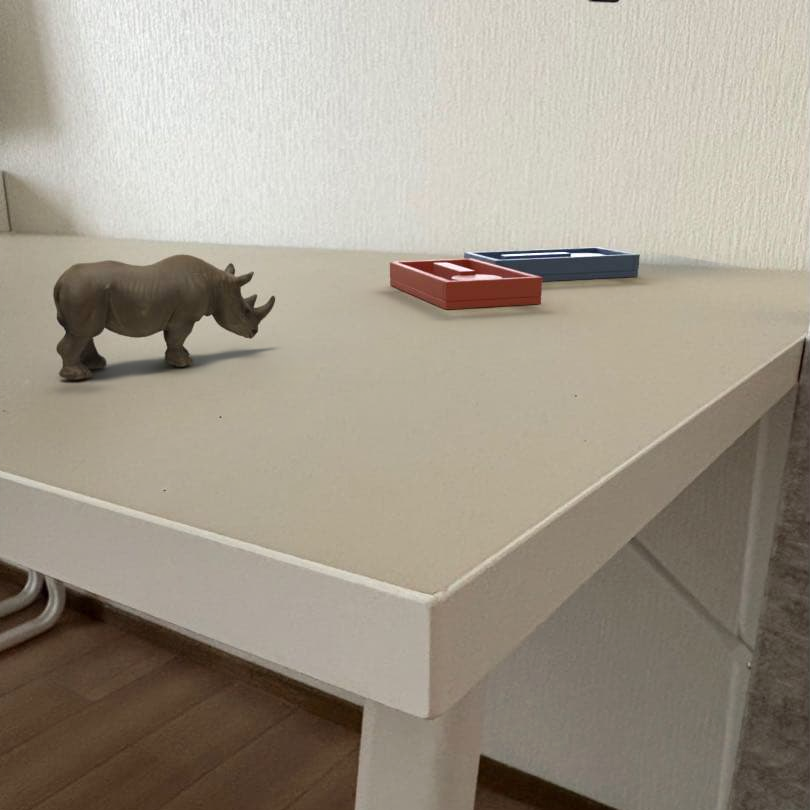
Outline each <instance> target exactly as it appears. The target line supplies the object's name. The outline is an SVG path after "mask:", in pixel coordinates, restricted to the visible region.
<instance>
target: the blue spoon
mask: <svg viewBox="0 0 810 810" xmlns="http://www.w3.org/2000/svg"><path fill="white" fill-rule="evenodd" d="M601 255H603V254H595V253H566V252H556V253H532V254H508V255H501V260H507V259H531V258H554V257H577V256H601Z"/></svg>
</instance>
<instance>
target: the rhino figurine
mask: <svg viewBox="0 0 810 810" xmlns="http://www.w3.org/2000/svg"><path fill="white" fill-rule="evenodd" d="M235 274H236V268H235V265H234V264H233V263H232V262H229V264H227V265H226V267H225V269H220V268H218V267H216V266H215V265H214V264H212V263H209V262H207V261H206V260H204V259H202V258H199V257H197V256H194V255H190V254H181V253H180V254H175V255H171V256H168V257H166V258H164V259H161V260H160V261H157V262H154V263H152V264H147V265H136V264H130V263H125V262H122V261H118V260H109V259H108V260H107V259H106V260H100V261H94V262H79V263H74V264H72V265H71V266H70V267H68V268H67V269H66V270H65V271H63V272H62V274H61V275H60V276H59V277H58V279H57V281H56V282H55V284H54V285H53V291H52V292H53V294H52V295H53V303H54V305H55V309H56V321H57V322H58V324H59V325H60V326H61V327H62V328H63V329H64V331H65V334H64V335H63V337H62V338H61V339H60V340H59V341H58V343H57V345H56V353H57V354H58V355H59V356H60V358H61V360H62V367H61V369H60V370H59V373H58V375H59V377H61V378H62V379H66V380H76V381H77V380H81V379H86V378H92V376H93V373H92V371H91V370H95V369H99V368H105V367H107V363H108V362H107V360H106V358H105V357H104V356H103V355H101V354H100V353H99V351H98V350H97V347H96V344H95V340H94V338H95V337H98V336H99V335H101V334H102V333H103V332H104V330H105V329H106V330H107V331H109V332H112V333H114V334H117V335H120V336H123V337H128V338H135V339H136V338H137V339H139V338H147V337H151V336H153V335H155V334H158V333H160V332H163V333H162V334H163V339H164V340H163V341H164V342H165V343H166V344H165V345H166V350H165V351H164V360H165V362H167V363H168V364H170V365H172V366H176V367H186V366H191V365H192V364H193V363H194V360H193V358H192V357H191V354H190V352H189V351H188V349H187V348H186V347H185V346H184V344H185V342H186V340H187V338H188V337H189V336H190V335H191V333H192V332H193V329H194V326H195V324H196V323H197V322H200V321H201V319H202V318H203V317H204V316H205V317H210V316H212V317H213V319H214V321H215V322H216V324H217V325H218V326H219V327H221V328H222V329H223V330H226V331H228V332H229V333H232V334H234V335H236V336H240V337H243V338H245V339H250V340H251V339H253V338H254V337H255V336H256V335H257V333H258V332H259V325H260V323H261V322H262V321H263V320H264V319H265V318H266V317H267V316H268V315H269V314H270V312H272V310H273V308H274V306H275V303H276V295H271V296H270V298H269V300H268V301H267V302H266V303H265V304H263V305H260V306H258V307H255V304H256V301H257V299H258V294H257V293H254V294H252V295H250V296H248V297H243V295H242V290H241V289H242V287H244V286H245V285H247V284H248V283H250V282H251V281H252V278H253V276H254V274H255V272H254V271H250V272H248V273H246V274H241V275H238V276H236V275H235Z"/></svg>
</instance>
